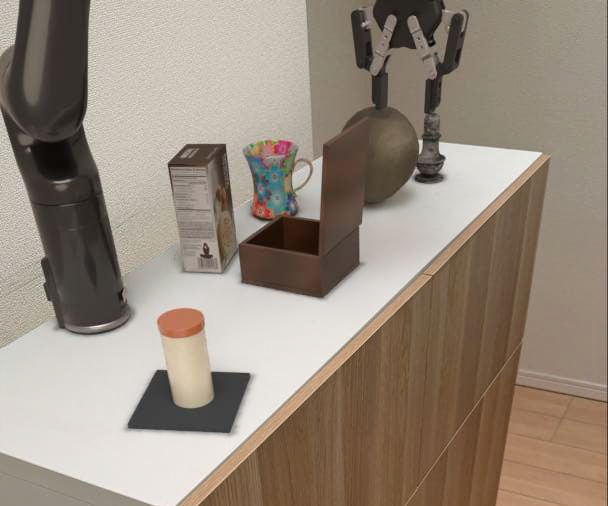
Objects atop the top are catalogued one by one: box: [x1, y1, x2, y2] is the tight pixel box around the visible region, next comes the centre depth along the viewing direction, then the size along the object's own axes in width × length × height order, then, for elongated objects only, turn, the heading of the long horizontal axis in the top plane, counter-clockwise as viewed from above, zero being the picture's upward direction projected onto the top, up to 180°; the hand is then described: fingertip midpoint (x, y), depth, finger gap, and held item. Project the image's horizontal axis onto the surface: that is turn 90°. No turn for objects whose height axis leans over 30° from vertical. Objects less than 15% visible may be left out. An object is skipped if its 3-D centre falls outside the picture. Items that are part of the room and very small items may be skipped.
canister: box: [156, 307, 215, 408], centre depth 89 cm, size 5×5×10 cm
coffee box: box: [166, 143, 238, 274], centre depth 117 cm, size 9×6×16 cm
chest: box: [237, 214, 360, 299], centre depth 115 cm, size 14×13×6 cm
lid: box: [318, 117, 371, 256], centre depth 105 cm, size 14×13×1 cm
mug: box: [242, 139, 314, 220], centre depth 132 cm, size 12×9×11 cm
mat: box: [127, 369, 251, 433], centre depth 92 cm, size 12×12×1 cm
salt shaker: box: [414, 111, 447, 184], centre depth 141 cm, size 6×6×12 cm
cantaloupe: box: [340, 105, 420, 205], centre depth 132 cm, size 14×14×15 cm
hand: (405, 109), depth 95 cm, fingers open, 6 cm apart
